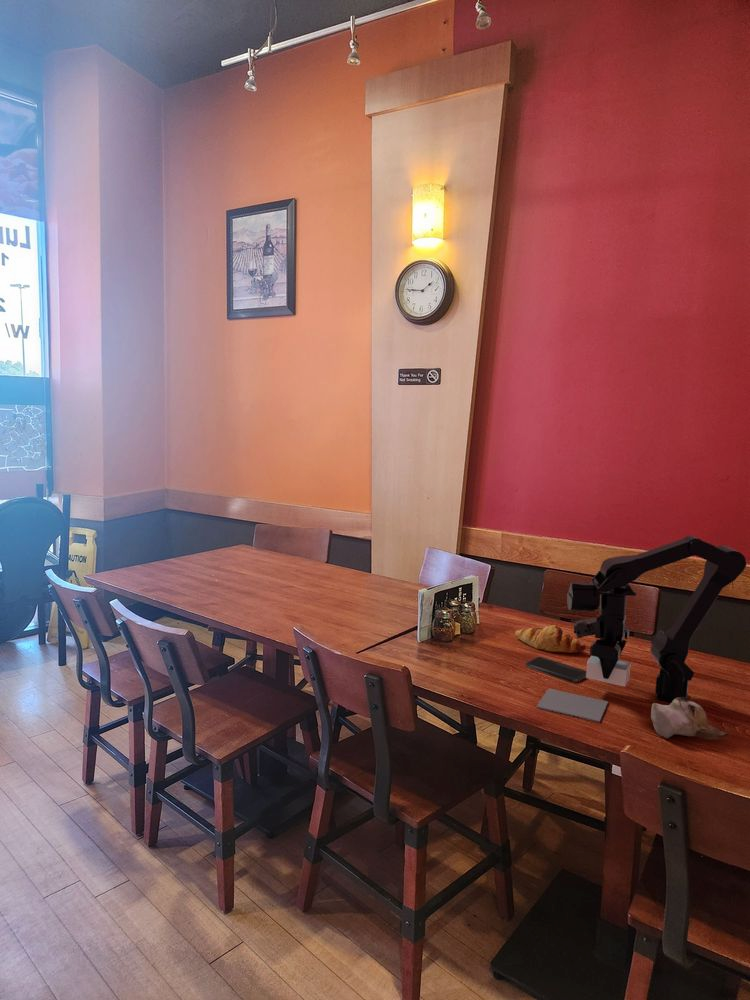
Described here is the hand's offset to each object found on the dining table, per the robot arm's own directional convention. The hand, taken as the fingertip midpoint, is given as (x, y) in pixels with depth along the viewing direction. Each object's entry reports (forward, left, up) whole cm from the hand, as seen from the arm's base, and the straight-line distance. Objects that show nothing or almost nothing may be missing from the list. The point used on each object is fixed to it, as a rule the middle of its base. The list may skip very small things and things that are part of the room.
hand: (608, 674), depth 158 cm
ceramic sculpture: (-18, +12, -6) cm, 22 cm away
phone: (+14, -8, -6) cm, 17 cm away
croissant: (+20, -25, -6) cm, 32 cm away
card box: (0, 0, -1) cm, 1 cm away
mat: (+6, +10, -5) cm, 13 cm away
